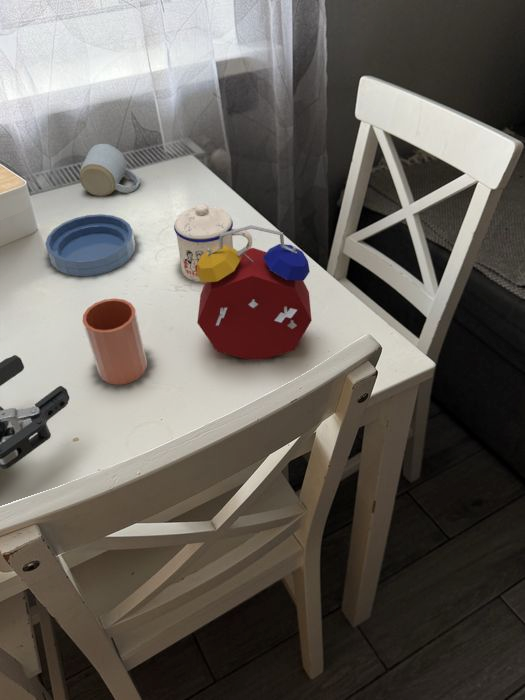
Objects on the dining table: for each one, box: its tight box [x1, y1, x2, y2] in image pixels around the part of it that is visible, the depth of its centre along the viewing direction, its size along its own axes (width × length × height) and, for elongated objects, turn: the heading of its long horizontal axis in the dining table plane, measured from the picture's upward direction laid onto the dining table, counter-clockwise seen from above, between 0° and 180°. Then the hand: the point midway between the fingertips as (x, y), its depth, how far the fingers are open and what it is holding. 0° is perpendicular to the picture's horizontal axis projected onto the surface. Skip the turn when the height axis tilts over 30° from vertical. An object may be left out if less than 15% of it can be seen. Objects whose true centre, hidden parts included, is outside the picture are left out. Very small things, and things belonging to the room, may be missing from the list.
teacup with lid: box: [173, 203, 253, 284], centre depth 94 cm, size 12×9×12 cm
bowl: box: [45, 213, 136, 277], centre depth 101 cm, size 14×14×4 cm
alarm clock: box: [196, 225, 312, 360], centre depth 77 cm, size 15×9×20 cm, turn 90°
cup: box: [82, 298, 148, 386], centre depth 78 cm, size 6×6×10 cm
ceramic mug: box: [79, 143, 141, 197], centre depth 116 cm, size 11×8×8 cm
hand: (42, 376), depth 70 cm, fingers open, 8 cm apart
